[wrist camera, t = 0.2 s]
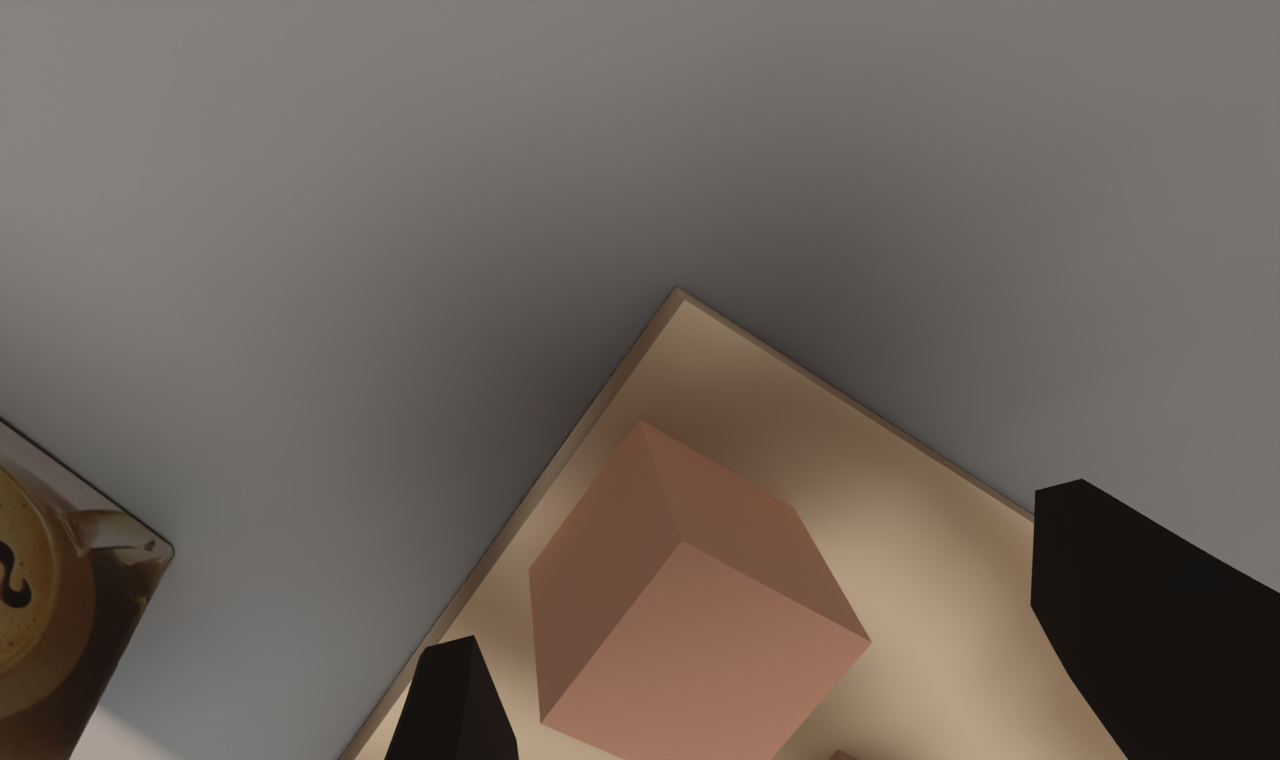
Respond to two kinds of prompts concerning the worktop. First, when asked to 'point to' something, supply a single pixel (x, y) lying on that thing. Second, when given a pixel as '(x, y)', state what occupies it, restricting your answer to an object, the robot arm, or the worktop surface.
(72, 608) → the coffee box
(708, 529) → the block
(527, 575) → the board
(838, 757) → the slab low
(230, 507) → the worktop surface
